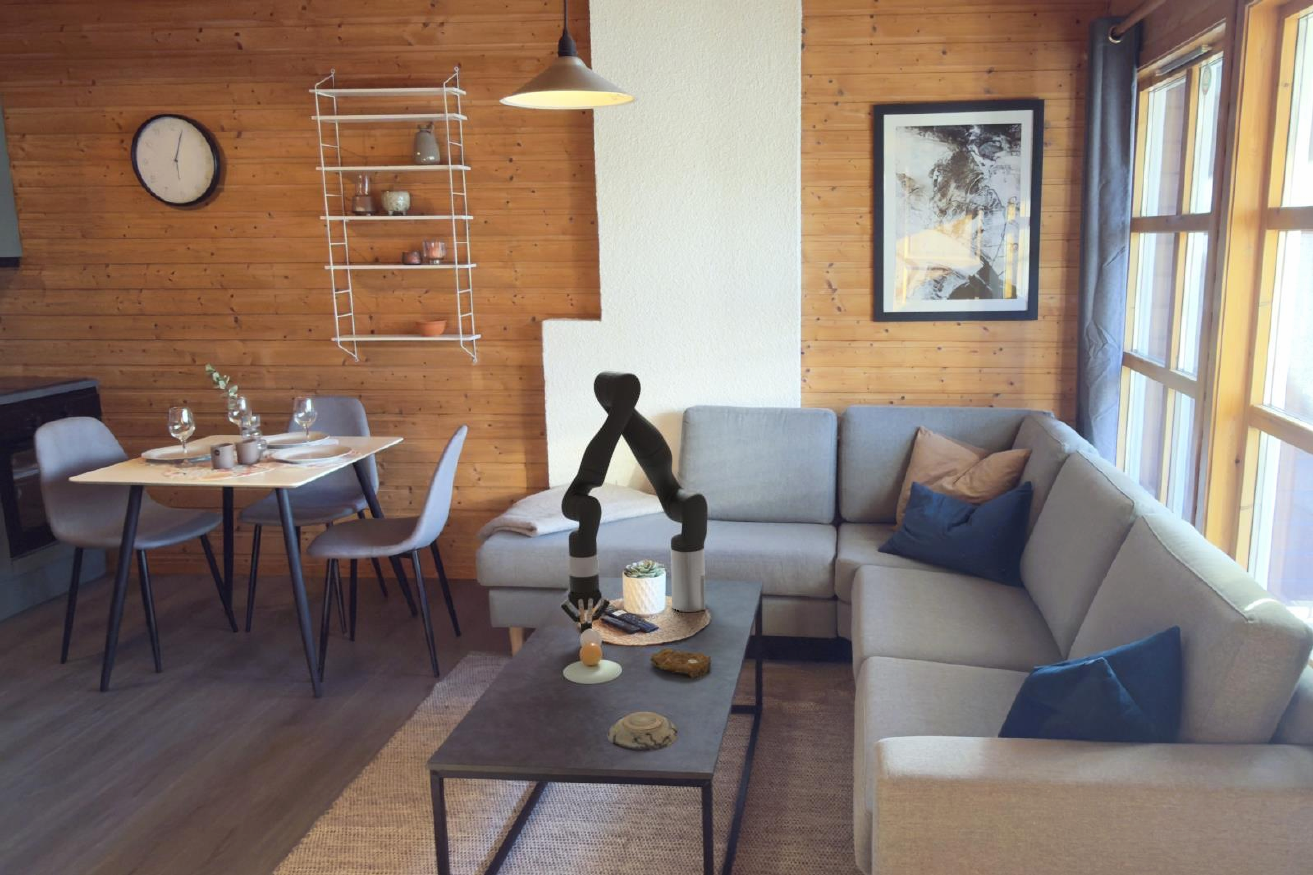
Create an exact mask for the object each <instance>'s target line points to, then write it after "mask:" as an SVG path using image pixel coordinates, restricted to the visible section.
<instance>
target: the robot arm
mask: <svg viewBox="0 0 1313 875" xmlns="http://www.w3.org/2000/svg"><path fill="white" fill-rule="evenodd" d="M641 385H642V384H641V381H640V379H639V377H638V376H637V375H636V374H635V373H632V372H629V371H619V370H605V371H601V372H600V373H597V375H596V376H595V378H594V382H593V392H594V396H595V399H596V400H597V402H598V403H599V405H600V406H601V408H602V409H603V410H604V411H605V413H606V414H607V417H606V419H605V421H604V423H603V424H602V426H601V427H600V428H599V429H598V431H597V432H596V433H595V435H594V436H593V437H592V439H591V440H590V441H589V443H588V444H587V446H586V448H585V450H584V452H583V454H582V458H581V461H580V464H579V467H578V470H577V474H576V475H575V477H574V478H573V480H572V481H571V483H570V484H569V486H568V488H567V489H566V491H565V493H564V494H563V497H562V500H561V505H560V506H561V513H562V515H563V516H564V518H565V519H567V520H569V521H574V522H578V528H577V529H575V530H573V531H571V532H570V533H569V536H568V578H569V580H568V582H569V593H568V595H567V598H566V599H565V600H562V601H561V602H560V606H561V609H562V610H563V611H564V613H565V614H567V616H568V617H569V618H570V619H571V620H572V621H573V622H574V623H579V624H580V625H579V626H580V633H581V634H582V633H583V632H584V631H585V630H587V629H593V622H594V621H599V620H600V618H601V616H603V614H604V613H605V611H606V610H607V608H608V607H609V605H610V604H611V603H610V599H609V598H608V597H604V596H603V595H602V592H601V590H600V573H599V572H600V567H599V566H600V565H599V559H598V547H597V546H598V542H597V537H598V533H599V529H600V523H601V520H602V513H603V512H602V506H601V502H600V501H599V499H598V498H597V497H596V496H593V495H589V494H590V493H591V491H592V490H593V489H596V488H597V489H598V488H600V487H602V486H603V485H604V484H605V480H606V477H607V474H608V470H609V468H610V463H611V461H612V458H613V455H614V452H615V450H616V448H617V444H618V443H619V440H620V439H621V437H622V438H623V439H624V441H625V442H626V444H627V446H628V447H629V449H630V451H631V454H632V455H633V457H634V458H635V460H636V461H637V463H638V465H639V466H640V467H641V469H642V471H643V473H644V474H645V476H646V477H647V479H648V482H649V483H650V484H651V486H652V488H653V490H654V492H655V494H656V496H657V498H658V501H659V503H660V506H661V507H662V510H663V512H664V514H665V515H666V517H667V518H668V519H669V520H671V521H673V522H675V523H679V524H681V532H680V533H678V534H675V535H674V536H672V537H671V539H670V564H671V565H670V566H671V570H670V571H671V606H672V609H673V610H675V609H676V610H675V611H677V610H679V611H678V612H681V611H682V613H695V612H699V611H705V610H706V577H705V576H706V574H705V542H706V538H707V535H708V534H707V532H708V513H709V512H708V510H709V509H708V507H709V506H708V502H707V499H706V497H705V496H704V495H703V494H702V493H699V492H696V491H692V490H687V489H685V488H683V487H682V486H681V484H680V482H678V480H677V478H676V477H675V475H674V473H673V454H672V450H671V448H670V446H669V445H668V443H667V440H666V438H664V435H663V434H662V433H661V431H660V430H659V429H658V428H657V427H656V426H655V425H654V424H653V423H652V422H651V421H650V420H648V419H647V418H646V417H645V416H644V415H642V414H641V413H640V412H639V411H638V410H637V409H636V407H637V404H638V402H639V399H640V396H641V392H642V386H641ZM598 603H599V606H598V607H597V608H596V606H597V605H598ZM571 604H572V606H573V607H574V609H576V610H577V611H578V615H577V613H576V612H575V611H574V610H573V609H572V608H571V607H572V606H571ZM595 608H596V610H595V611H594V613H593V610H594V609H595ZM585 611H586V617H585ZM581 634H580V635H581Z"/></svg>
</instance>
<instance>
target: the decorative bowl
mask: <svg viewBox="0 0 1313 875" xmlns="http://www.w3.org/2000/svg"><path fill="white" fill-rule="evenodd" d="M676 732H678V729H677V727H676V725H675V724H674V723H672V721H670V720H669V719H668V718H666V717H664V716H663V715H659V714H658V713H655V712H652V711H638V712H632V713H630V714H627V715H626V716H625V717H623V718H621V719H619V720H617V721H616V722H615V723H614V724H613V725H611V727H610V728H609V731H608V732H607V734H606V735H607V739H608V741H609V742H610V743H611V744H616V745H618V746H620V747H623V748H625V749H626V748H627V749H629V750H634V751H637V752H638V751H639V752H648V751H650V752H651V751H656V750H659V749H660V750H661V749H664V748H666V747H668V746H670V745H671V744H673V743H675V741H677V739H678V735H677V733H676Z"/></svg>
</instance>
